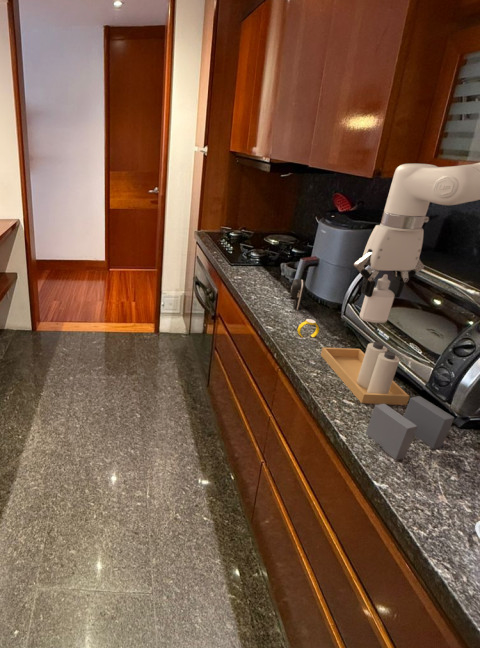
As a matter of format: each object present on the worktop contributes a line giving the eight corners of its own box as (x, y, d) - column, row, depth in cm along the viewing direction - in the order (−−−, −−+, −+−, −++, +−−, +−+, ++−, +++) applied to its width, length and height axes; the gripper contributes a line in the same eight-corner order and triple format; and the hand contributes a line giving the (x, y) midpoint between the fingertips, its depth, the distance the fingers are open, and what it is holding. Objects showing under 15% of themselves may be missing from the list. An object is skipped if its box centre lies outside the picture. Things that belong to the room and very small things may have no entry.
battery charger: (287, 305, 144) (292, 276, 140) (298, 307, 142) (304, 278, 138) (287, 313, 138) (293, 283, 134) (298, 315, 137) (305, 285, 132)
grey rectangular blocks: (408, 425, 86) (419, 395, 83) (441, 448, 80) (454, 417, 76) (364, 435, 83) (374, 405, 80) (395, 460, 77) (407, 428, 74)
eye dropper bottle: (384, 326, 93) (399, 280, 88) (357, 319, 96) (370, 274, 92) (387, 320, 96) (401, 275, 91) (361, 313, 99) (373, 269, 95)
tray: (320, 356, 112) (322, 347, 110) (356, 358, 111) (359, 348, 110) (360, 405, 92) (364, 394, 91) (405, 407, 91) (409, 396, 90)
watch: (298, 339, 121) (302, 322, 118) (294, 335, 123) (298, 318, 121) (318, 340, 120) (322, 323, 118) (314, 335, 123) (318, 318, 121)
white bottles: (353, 379, 100) (365, 339, 96) (369, 380, 100) (382, 339, 96) (372, 400, 93) (386, 357, 88) (390, 401, 92) (405, 358, 88)
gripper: (430, 218, 90) (406, 290, 96) (352, 217, 91) (335, 288, 98) (455, 225, 83) (428, 302, 90) (371, 224, 84) (351, 300, 91)
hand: (379, 294), depth 94 cm, fingers closed on eye dropper bottle, 5 cm apart
